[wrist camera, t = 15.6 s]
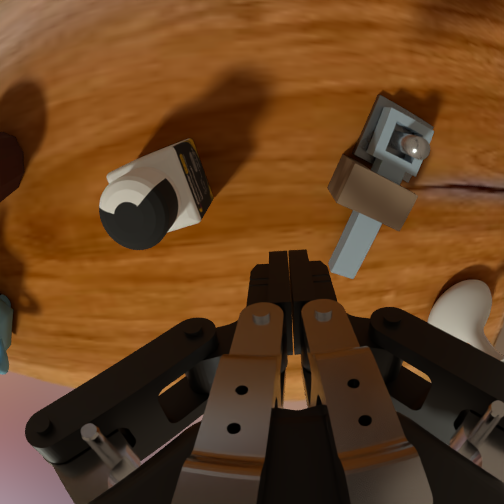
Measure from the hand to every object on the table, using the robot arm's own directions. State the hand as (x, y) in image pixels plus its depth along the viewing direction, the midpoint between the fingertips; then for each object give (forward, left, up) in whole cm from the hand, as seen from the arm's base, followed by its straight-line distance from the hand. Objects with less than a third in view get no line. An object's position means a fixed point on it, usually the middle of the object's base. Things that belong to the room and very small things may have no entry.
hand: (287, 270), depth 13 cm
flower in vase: (+8, +32, -21) cm, 39 cm away
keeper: (-2, +9, -21) cm, 23 cm away
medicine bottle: (+5, -10, -21) cm, 24 cm away
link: (-2, +10, -20) cm, 23 cm away
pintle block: (-8, +10, -21) cm, 25 cm away
